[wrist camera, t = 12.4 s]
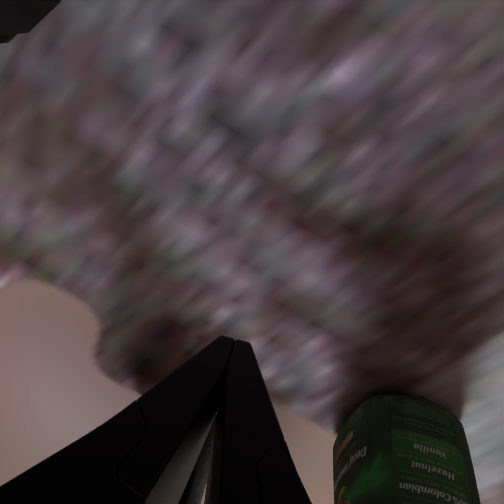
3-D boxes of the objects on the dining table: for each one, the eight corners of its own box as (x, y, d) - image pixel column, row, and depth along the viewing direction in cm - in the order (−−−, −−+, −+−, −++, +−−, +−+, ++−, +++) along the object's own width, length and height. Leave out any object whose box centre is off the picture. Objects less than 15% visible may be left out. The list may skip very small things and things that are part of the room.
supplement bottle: (171, 374, 31) (92, 551, 21) (238, 421, 33) (196, 607, 23) (128, 411, 35) (43, 578, 24) (191, 451, 36) (136, 625, 26)
